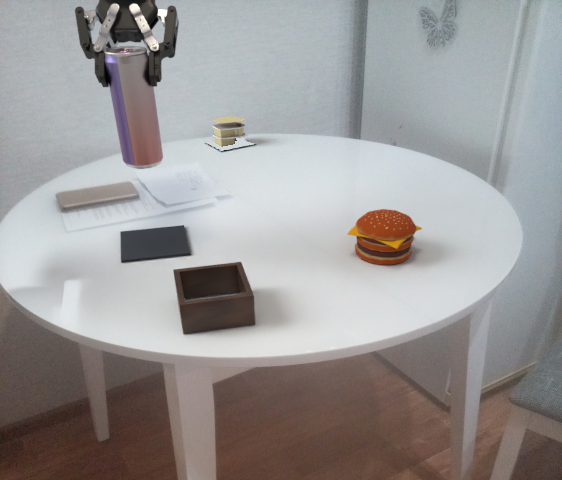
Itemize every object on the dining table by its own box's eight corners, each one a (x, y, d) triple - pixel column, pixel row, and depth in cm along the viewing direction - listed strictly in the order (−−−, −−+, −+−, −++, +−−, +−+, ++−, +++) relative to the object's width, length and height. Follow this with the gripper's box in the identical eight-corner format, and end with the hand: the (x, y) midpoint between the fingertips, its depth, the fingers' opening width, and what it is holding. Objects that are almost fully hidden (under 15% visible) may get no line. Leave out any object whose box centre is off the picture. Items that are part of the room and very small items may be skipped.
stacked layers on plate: (221, 152, 131) (219, 127, 127) (203, 142, 137) (201, 118, 133) (257, 144, 135) (256, 120, 132) (238, 135, 141) (237, 112, 138)
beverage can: (116, 168, 83) (94, 52, 73) (134, 155, 87) (115, 44, 78) (154, 171, 81) (136, 54, 72) (169, 158, 86) (155, 46, 76)
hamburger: (343, 256, 90) (346, 217, 86) (371, 235, 96) (374, 197, 92) (397, 272, 86) (402, 231, 81) (422, 249, 92) (428, 210, 88)
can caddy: (183, 334, 73) (179, 305, 70) (177, 297, 80) (173, 269, 77) (255, 324, 75) (254, 295, 72) (242, 289, 82) (241, 261, 79)
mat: (121, 262, 89) (120, 260, 88) (120, 233, 97) (120, 231, 97) (190, 255, 90) (190, 252, 90) (184, 227, 99) (184, 225, 99)
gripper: (65, -54, 73) (65, 66, 72) (174, -55, 74) (177, 64, 72) (83, -9, 81) (84, 100, 79) (183, -10, 81) (185, 98, 80)
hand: (128, 83), depth 76 cm, fingers closed on beverage can, 6 cm apart
